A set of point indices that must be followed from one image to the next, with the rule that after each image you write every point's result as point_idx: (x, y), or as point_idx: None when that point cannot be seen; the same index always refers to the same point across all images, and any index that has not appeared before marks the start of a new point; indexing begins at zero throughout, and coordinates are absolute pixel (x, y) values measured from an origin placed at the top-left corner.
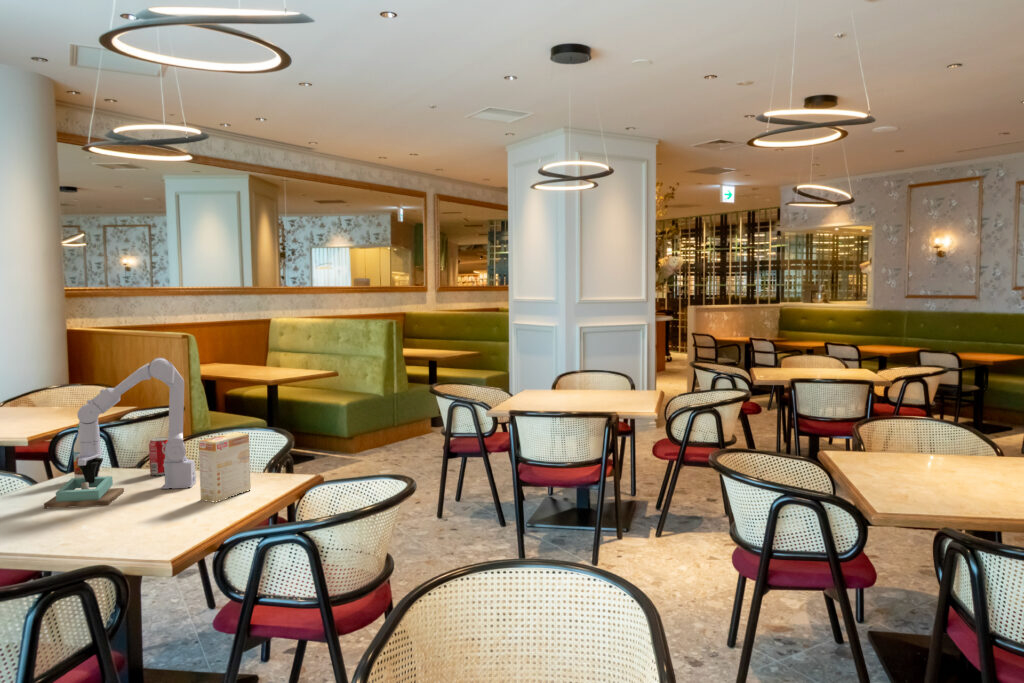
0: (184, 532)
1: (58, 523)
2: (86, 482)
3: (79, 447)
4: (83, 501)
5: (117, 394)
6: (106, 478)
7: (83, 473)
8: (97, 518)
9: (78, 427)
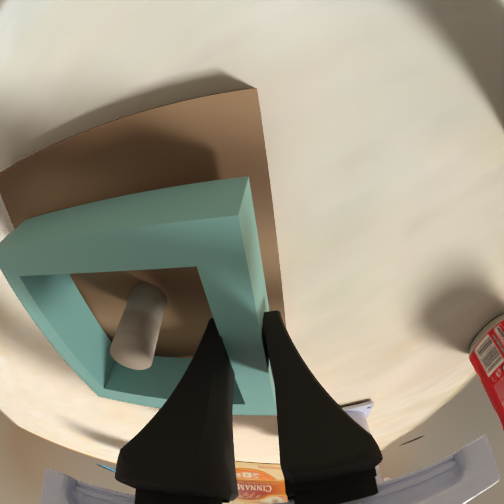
0: (69, 441)
1: None
2: (147, 359)
3: None
4: None
5: None
6: (240, 407)
7: (178, 386)
8: (35, 370)
9: None
